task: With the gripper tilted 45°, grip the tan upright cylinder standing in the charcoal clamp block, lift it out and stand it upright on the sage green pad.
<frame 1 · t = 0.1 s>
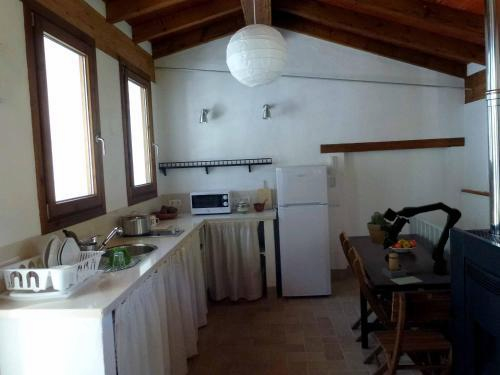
hand: (383, 247, 233), 15 cm above the table, tool tilted 35°, fingers open, 9 cm apart
microphone: (393, 265, 246), on the table
clamp block: (394, 275, 225), on the table
tan upright cylinder: (394, 274, 225), point 1 cm above the table, touching clamp block
potted plant: (379, 242, 308), on the table
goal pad: (406, 281, 214), on the table
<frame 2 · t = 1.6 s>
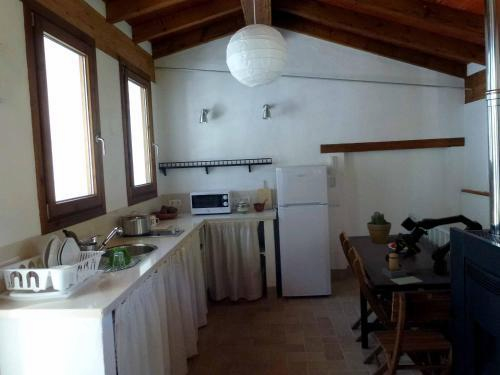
hand: (398, 256, 225), 11 cm above the table, tool tilted 45°, fingers open, 9 cm apart
nothing on the table moved.
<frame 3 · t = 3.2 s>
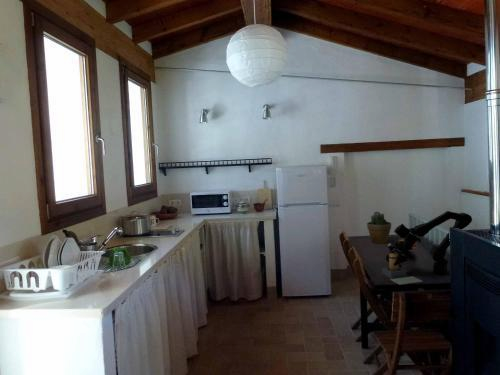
hand: (391, 264, 225), 7 cm above the table, tool tilted 45°, fingers closed on tan upright cylinder, 5 cm apart
tan upright cylinder: (394, 274, 225), point 1 cm above the table, touching clamp block, gripper
everything else where it was.
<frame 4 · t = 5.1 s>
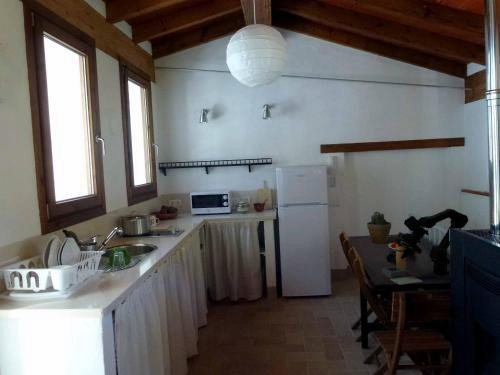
hand: (398, 257, 217), 13 cm above the table, tool tilted 45°, fingers closed on tan upright cylinder, 5 cm apart
tan upright cylinder: (401, 267, 218), point 7 cm above the table, touching gripper
everything else where it was.
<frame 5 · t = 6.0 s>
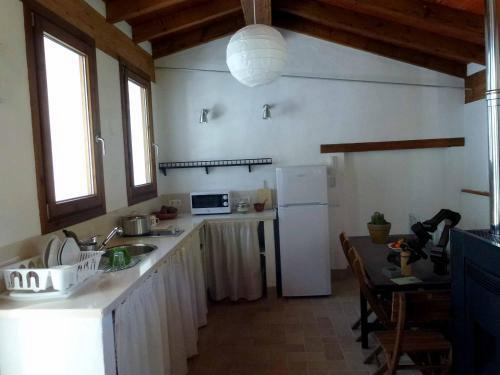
hand: (403, 263, 213), 11 cm above the table, tool tilted 45°, fingers closed on tan upright cylinder, 5 cm apart
tan upright cylinder: (406, 274, 213), point 4 cm above the table, touching gripper
everything else where it was.
when the fingers open (8 cm above the table, at t = 6.9 s): tan upright cylinder drops 1 cm, resting on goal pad.
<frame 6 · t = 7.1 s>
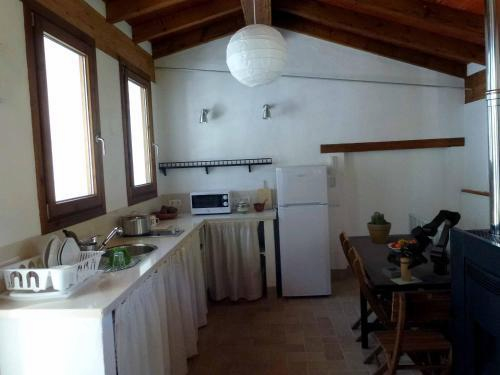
hand: (403, 267, 213), 9 cm above the table, tool tilted 45°, fingers open, 7 cm apart
tan upright cylinder: (406, 280, 214), point 1 cm above the table, touching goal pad
everything else where it was.
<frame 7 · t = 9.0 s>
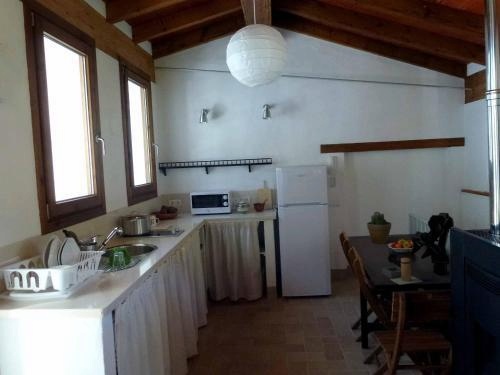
hand: (416, 256, 214), 14 cm above the table, tool tilted 45°, fingers open, 9 cm apart
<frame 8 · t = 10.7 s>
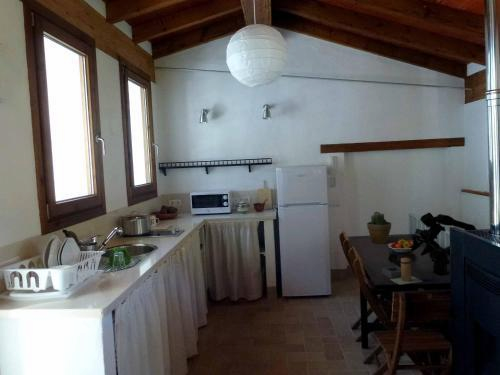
hand: (416, 253, 221), 14 cm above the table, tool tilted 45°, fingers open, 9 cm apart
at the end: tan upright cylinder inside the target area on the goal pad (0.1 cm from its centre), point 1.0 cm above the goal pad's base; tan upright cylinder tilted 1°; the gripper is holding nothing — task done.
